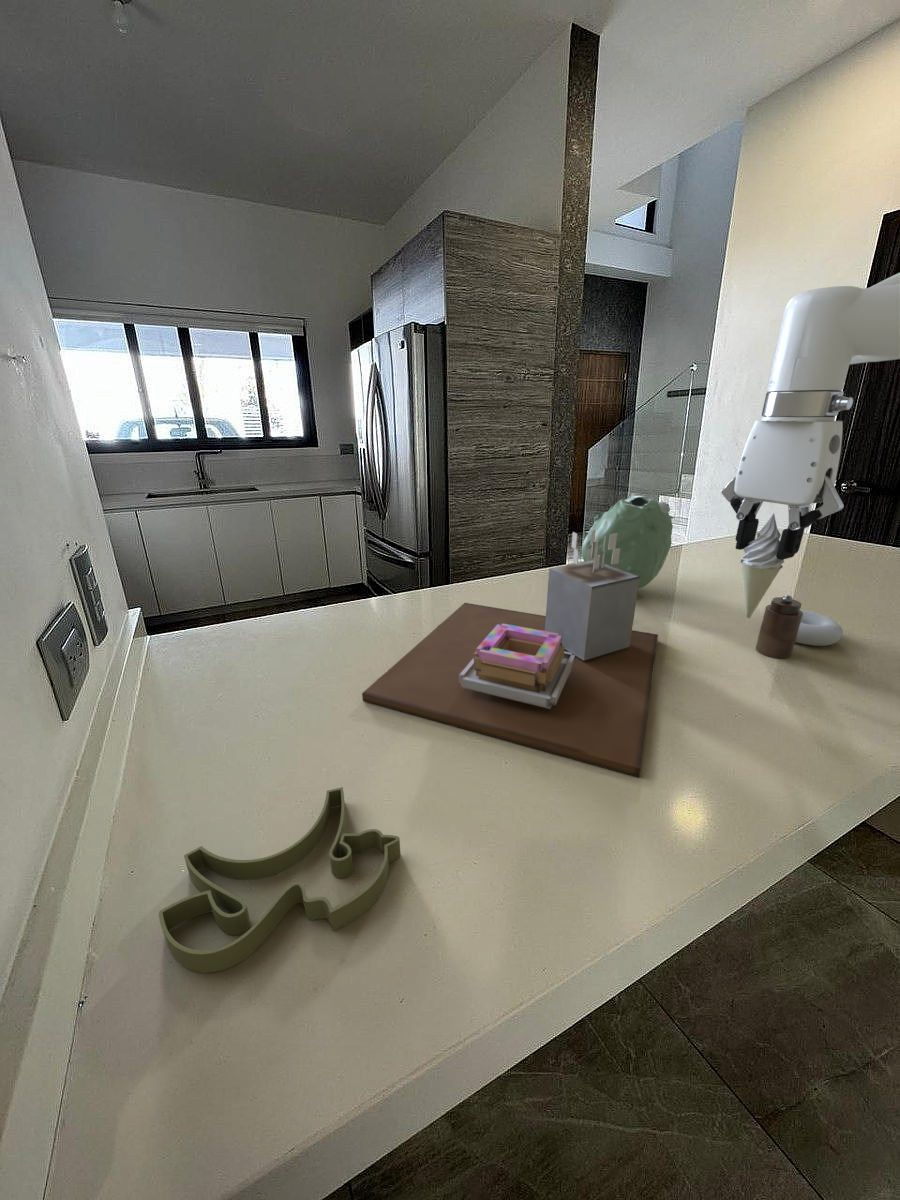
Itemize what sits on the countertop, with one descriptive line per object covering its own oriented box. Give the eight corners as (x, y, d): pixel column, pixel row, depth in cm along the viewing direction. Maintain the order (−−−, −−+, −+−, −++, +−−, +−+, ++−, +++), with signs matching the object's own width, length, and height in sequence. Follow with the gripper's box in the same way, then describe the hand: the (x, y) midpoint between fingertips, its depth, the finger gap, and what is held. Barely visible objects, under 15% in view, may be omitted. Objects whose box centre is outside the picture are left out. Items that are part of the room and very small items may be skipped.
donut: (779, 619, 88) (758, 634, 82) (784, 602, 87) (763, 615, 81) (846, 638, 81) (829, 655, 75) (852, 619, 79) (836, 635, 73)
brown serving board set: (638, 777, 51) (668, 611, 44) (362, 700, 64) (350, 565, 57) (656, 640, 80) (676, 528, 73) (464, 608, 94) (465, 511, 87)
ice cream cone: (776, 619, 68) (804, 514, 62) (755, 627, 65) (783, 518, 60) (740, 607, 72) (764, 508, 66) (720, 614, 69) (743, 512, 64)
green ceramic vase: (561, 587, 104) (569, 494, 97) (620, 572, 113) (631, 486, 106) (620, 611, 92) (634, 506, 84) (680, 591, 101) (697, 496, 94)
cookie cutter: (360, 792, 49) (358, 776, 48) (418, 881, 40) (417, 864, 39) (160, 881, 40) (154, 864, 39) (174, 1024, 31) (166, 1005, 30)
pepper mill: (787, 647, 77) (803, 592, 74) (793, 661, 73) (811, 603, 70) (753, 642, 79) (767, 588, 76) (757, 655, 75) (772, 598, 72)
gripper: (900, 407, 53) (850, 564, 60) (747, 408, 67) (721, 536, 74) (868, 408, 50) (819, 574, 56) (714, 409, 63) (689, 542, 70)
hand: (764, 551), depth 65 cm, fingers closed on ice cream cone, 4 cm apart
